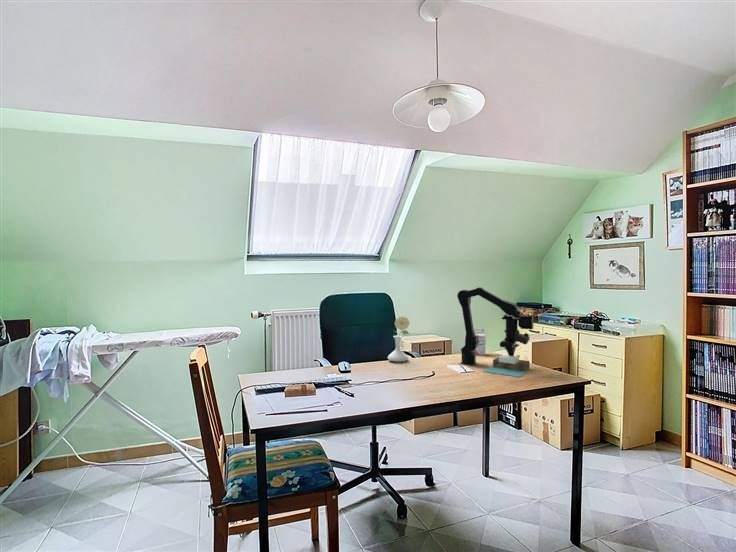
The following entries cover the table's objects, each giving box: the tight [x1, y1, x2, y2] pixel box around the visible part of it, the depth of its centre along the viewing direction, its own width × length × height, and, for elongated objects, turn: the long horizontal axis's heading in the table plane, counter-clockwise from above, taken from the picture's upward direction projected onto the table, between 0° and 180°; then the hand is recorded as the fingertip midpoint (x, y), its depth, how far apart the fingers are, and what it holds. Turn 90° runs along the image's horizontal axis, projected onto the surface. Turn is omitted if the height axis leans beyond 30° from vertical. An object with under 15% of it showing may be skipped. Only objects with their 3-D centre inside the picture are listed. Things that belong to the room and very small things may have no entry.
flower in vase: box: [387, 316, 410, 363], centre depth 237 cm, size 13×11×25 cm
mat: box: [482, 366, 527, 378], centre depth 212 cm, size 18×11×1 cm, turn 53°
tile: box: [498, 354, 520, 364], centre depth 217 cm, size 8×6×2 cm
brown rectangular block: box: [492, 356, 530, 372], centre depth 220 cm, size 16×8×4 cm, turn 53°
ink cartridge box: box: [473, 328, 487, 356], centre depth 253 cm, size 9×5×15 cm, turn 84°
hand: (511, 358), depth 220 cm, fingers closed
